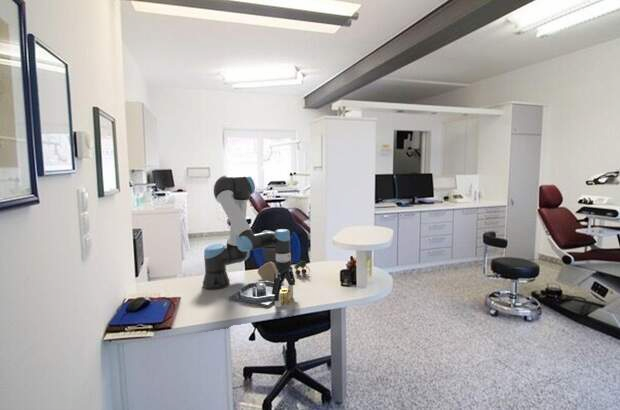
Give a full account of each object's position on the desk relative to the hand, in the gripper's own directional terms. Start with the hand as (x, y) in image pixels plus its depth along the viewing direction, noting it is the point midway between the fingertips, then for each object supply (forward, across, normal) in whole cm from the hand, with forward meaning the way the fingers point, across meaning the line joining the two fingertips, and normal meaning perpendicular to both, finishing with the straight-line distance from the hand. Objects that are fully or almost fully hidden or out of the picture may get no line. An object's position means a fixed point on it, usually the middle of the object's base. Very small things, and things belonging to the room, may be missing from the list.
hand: (284, 301), depth 170 cm
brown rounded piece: (0, +25, +24) cm, 35 cm away
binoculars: (0, +41, +12) cm, 42 cm away
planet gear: (0, 0, 0) cm, 0 cm away
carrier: (0, +3, +16) cm, 16 cm away
